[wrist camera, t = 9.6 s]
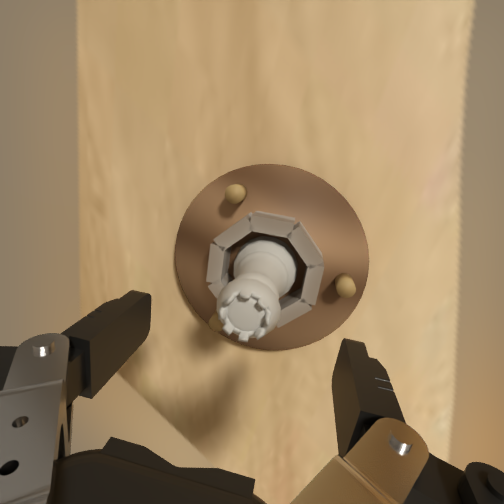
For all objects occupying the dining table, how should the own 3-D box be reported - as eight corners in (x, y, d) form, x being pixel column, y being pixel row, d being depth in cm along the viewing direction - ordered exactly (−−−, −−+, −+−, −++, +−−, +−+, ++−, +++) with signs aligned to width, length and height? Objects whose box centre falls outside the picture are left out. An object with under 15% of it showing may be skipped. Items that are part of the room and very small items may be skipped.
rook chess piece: (309, 277, 21) (309, 339, 13) (255, 302, 22) (229, 372, 15) (278, 223, 20) (261, 256, 13) (225, 252, 22) (180, 298, 14)
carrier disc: (189, 149, 21) (170, 146, 18) (390, 182, 20) (405, 185, 17) (175, 319, 26) (157, 340, 22) (339, 359, 24) (344, 387, 21)
